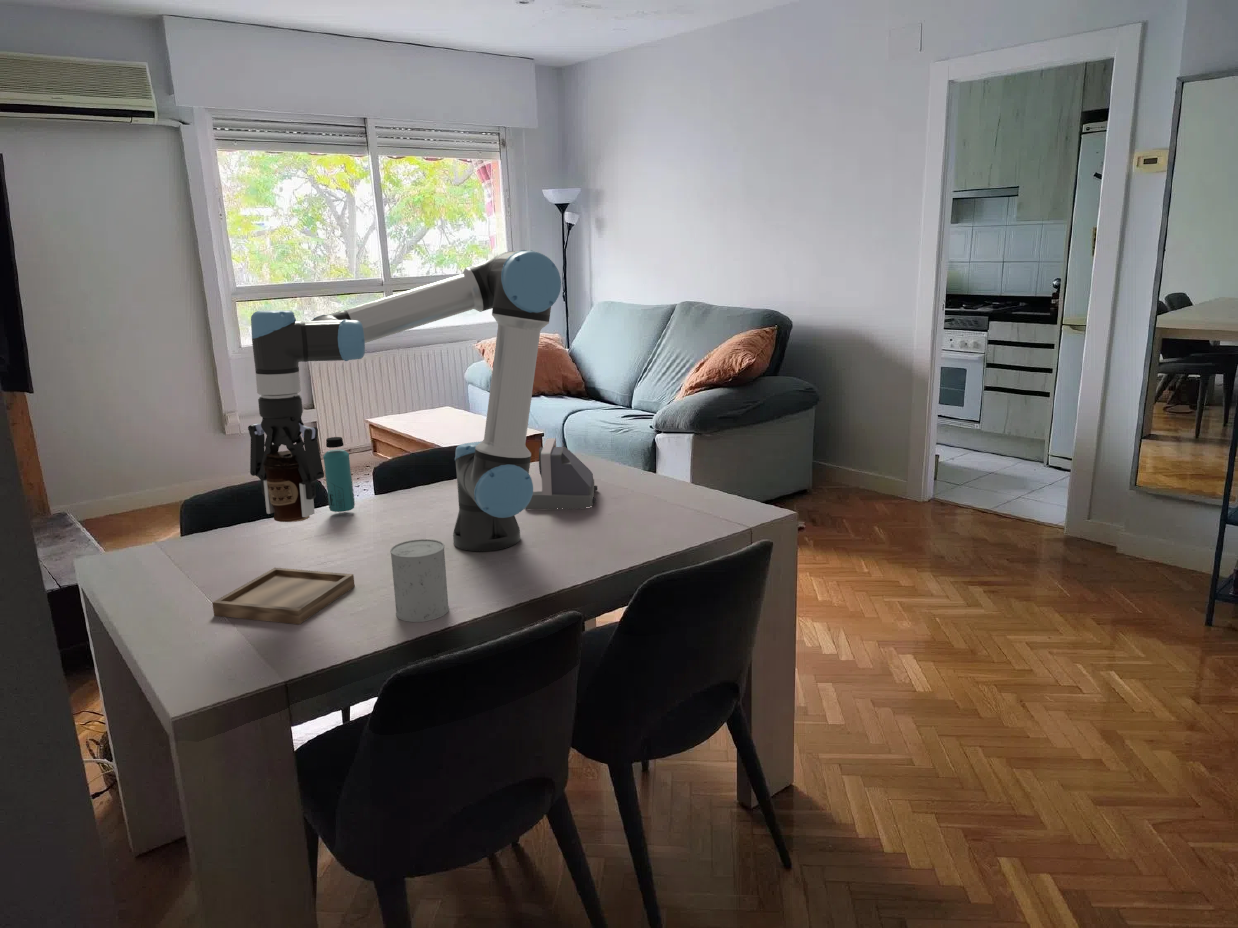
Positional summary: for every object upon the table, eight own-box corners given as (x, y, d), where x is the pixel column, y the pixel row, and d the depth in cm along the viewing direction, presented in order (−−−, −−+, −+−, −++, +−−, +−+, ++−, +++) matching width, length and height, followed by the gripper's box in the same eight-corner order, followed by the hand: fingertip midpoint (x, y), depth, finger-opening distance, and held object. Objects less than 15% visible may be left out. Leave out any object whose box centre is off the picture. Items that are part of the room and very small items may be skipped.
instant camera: (534, 488, 236) (531, 435, 233) (606, 490, 233) (605, 437, 229) (512, 510, 216) (509, 453, 212) (591, 512, 212) (589, 455, 209)
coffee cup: (297, 527, 157) (291, 459, 154) (258, 524, 158) (251, 456, 155) (323, 513, 165) (318, 449, 162) (286, 511, 167) (280, 446, 164)
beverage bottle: (361, 511, 216) (353, 435, 212) (343, 519, 211) (335, 441, 206) (341, 509, 219) (334, 434, 214) (323, 516, 213) (314, 439, 208)
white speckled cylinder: (400, 602, 159) (395, 540, 156) (451, 599, 160) (447, 538, 157) (391, 623, 150) (385, 558, 147) (445, 620, 151) (441, 555, 148)
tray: (354, 586, 167) (353, 574, 166) (299, 624, 150) (297, 610, 150) (276, 579, 172) (274, 567, 171) (214, 615, 155) (212, 602, 154)
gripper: (338, 394, 157) (347, 512, 162) (248, 389, 162) (259, 503, 168) (313, 400, 150) (324, 523, 155) (219, 395, 155) (232, 514, 161)
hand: (290, 513), depth 161 cm, fingers closed on coffee cup, 7 cm apart
